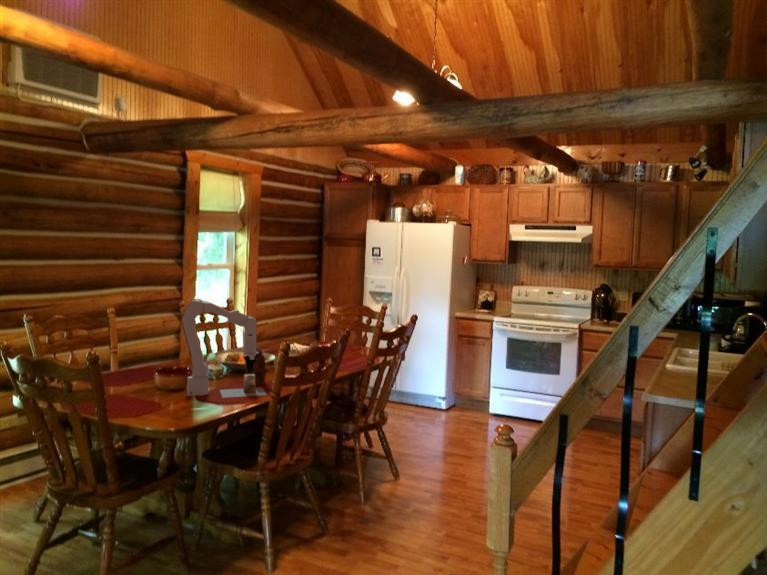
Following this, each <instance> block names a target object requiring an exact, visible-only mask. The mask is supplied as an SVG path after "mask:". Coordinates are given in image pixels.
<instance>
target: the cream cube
mask: <svg viewBox="0 0 767 575" xmlns="http://www.w3.org/2000/svg"><path fill="white" fill-rule="evenodd" d="M244 384H245V385H255V375H254V374H246V373H244V375H243V385H244Z"/></svg>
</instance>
